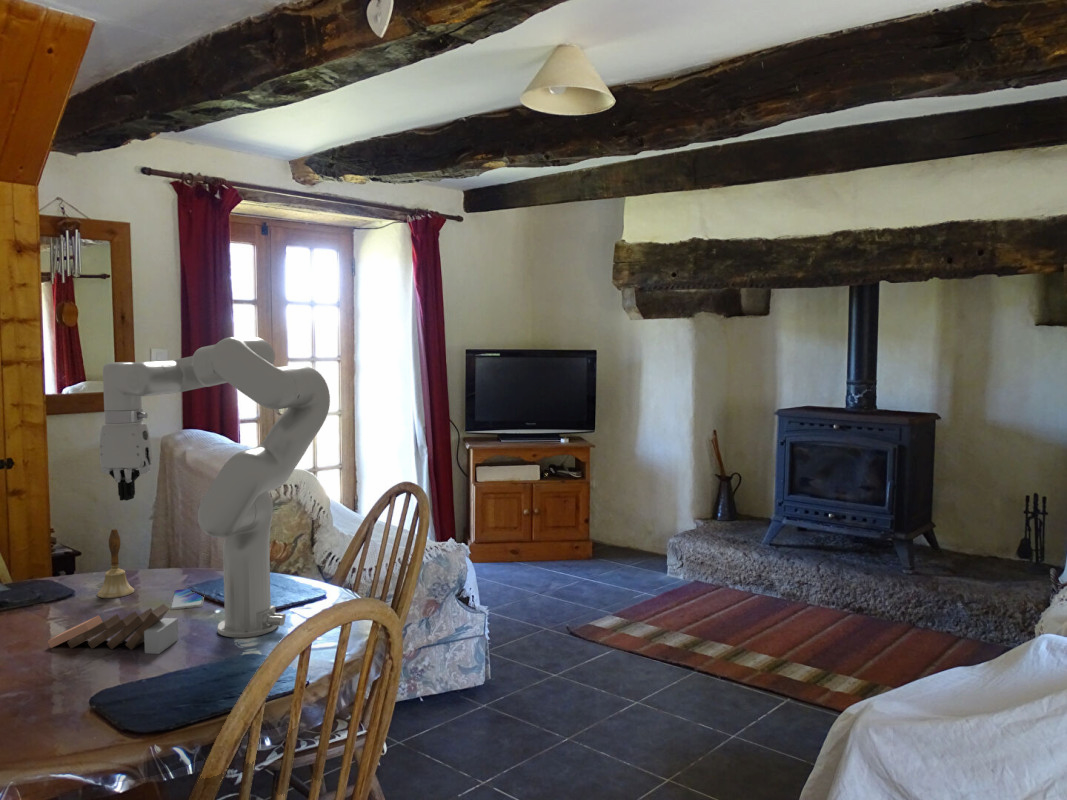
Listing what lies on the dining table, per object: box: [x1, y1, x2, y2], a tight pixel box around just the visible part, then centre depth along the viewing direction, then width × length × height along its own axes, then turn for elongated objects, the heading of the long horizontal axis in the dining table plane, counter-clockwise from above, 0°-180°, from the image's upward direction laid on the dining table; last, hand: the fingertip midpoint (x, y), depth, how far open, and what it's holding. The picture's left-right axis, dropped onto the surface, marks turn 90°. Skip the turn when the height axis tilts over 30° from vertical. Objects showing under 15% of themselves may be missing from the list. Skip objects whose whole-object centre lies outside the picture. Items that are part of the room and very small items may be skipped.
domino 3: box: [87, 611, 139, 650], centre depth 175 cm, size 2×5×9 cm
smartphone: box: [169, 587, 205, 611], centre depth 206 cm, size 7×1×15 cm
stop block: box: [143, 617, 179, 655], centre depth 174 cm, size 3×8×4 cm, turn 177°
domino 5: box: [124, 603, 170, 651], centre depth 174 cm, size 2×5×9 cm
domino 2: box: [66, 613, 122, 649], centre depth 175 cm, size 2×5×9 cm
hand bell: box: [96, 528, 135, 599], centre depth 209 cm, size 8×8×16 cm
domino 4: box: [106, 607, 154, 650], centre depth 175 cm, size 2×5×9 cm
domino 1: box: [47, 614, 103, 649], centre depth 175 cm, size 2×5×9 cm
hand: (126, 499), depth 191 cm, fingers closed
